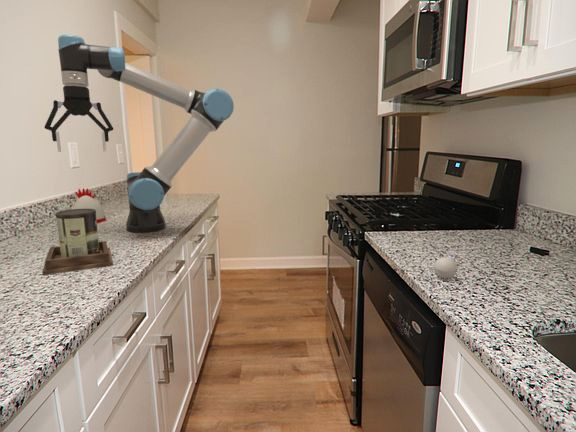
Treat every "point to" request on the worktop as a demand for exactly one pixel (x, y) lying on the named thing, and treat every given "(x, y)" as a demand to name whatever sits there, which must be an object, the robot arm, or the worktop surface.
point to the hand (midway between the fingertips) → (82, 151)
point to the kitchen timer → (89, 204)
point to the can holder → (76, 260)
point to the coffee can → (77, 232)
